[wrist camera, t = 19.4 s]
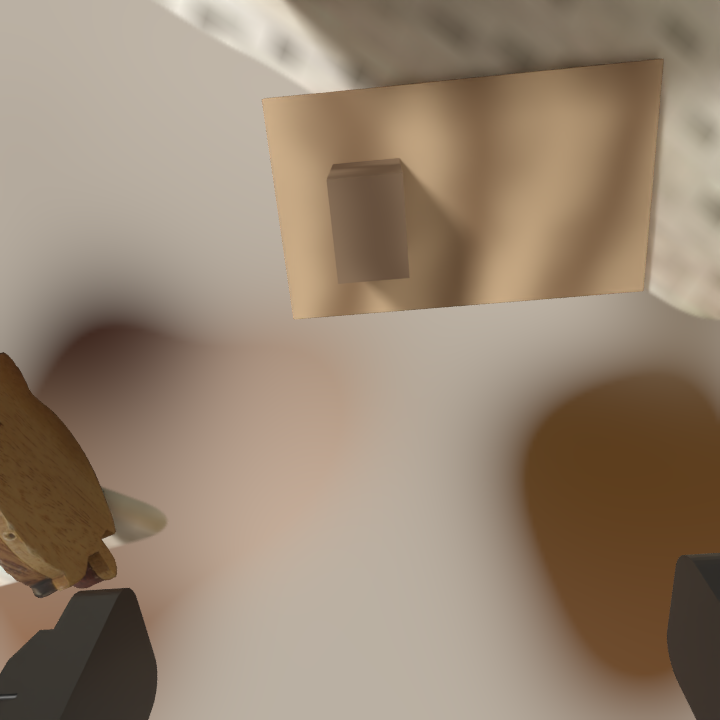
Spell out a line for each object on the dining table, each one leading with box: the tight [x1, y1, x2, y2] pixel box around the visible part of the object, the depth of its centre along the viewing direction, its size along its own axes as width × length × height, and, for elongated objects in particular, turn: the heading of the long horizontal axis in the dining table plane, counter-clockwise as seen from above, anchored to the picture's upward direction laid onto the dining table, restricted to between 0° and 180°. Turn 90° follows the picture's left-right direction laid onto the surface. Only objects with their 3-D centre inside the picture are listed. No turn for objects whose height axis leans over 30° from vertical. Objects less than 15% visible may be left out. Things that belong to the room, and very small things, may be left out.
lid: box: [262, 59, 664, 319], centre depth 34 cm, size 20×12×6 cm, turn 95°
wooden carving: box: [0, 352, 117, 598], centre depth 38 cm, size 16×5×10 cm, turn 27°
